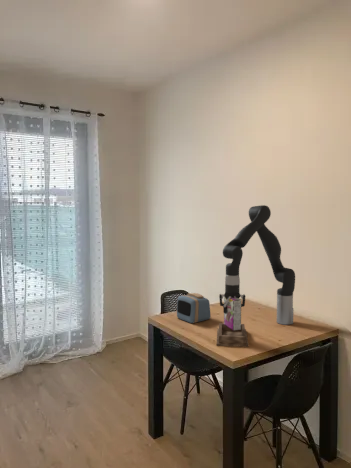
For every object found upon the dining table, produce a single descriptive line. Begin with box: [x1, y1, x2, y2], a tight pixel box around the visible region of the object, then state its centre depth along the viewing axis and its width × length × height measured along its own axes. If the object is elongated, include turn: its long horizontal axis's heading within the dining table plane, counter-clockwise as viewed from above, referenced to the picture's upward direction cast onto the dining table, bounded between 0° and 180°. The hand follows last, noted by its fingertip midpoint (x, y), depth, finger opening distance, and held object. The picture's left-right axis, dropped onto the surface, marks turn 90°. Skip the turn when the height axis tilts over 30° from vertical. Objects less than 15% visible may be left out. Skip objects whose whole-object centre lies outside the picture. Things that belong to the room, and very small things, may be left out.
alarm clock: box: [176, 292, 212, 324], centre depth 243 cm, size 16×16×16 cm
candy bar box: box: [223, 296, 242, 331], centre depth 209 cm, size 11×5×16 cm, turn 20°
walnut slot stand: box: [216, 322, 249, 348], centre depth 210 cm, size 16×24×4 cm, turn 173°
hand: (232, 313), depth 209 cm, fingers closed on candy bar box, 6 cm apart
